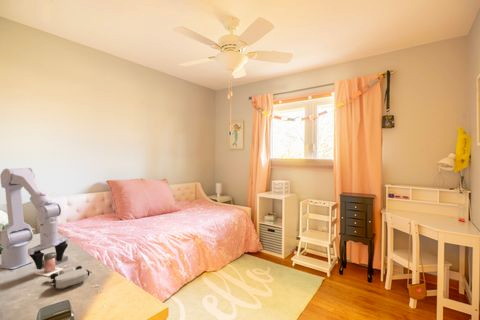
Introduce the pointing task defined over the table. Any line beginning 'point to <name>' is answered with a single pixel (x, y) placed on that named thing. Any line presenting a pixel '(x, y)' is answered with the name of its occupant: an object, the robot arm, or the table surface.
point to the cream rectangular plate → (49, 272)
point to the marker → (49, 262)
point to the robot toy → (69, 277)
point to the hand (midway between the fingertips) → (49, 264)
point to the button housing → (59, 261)
